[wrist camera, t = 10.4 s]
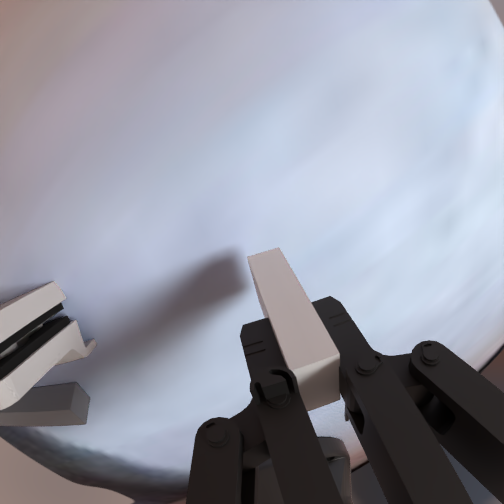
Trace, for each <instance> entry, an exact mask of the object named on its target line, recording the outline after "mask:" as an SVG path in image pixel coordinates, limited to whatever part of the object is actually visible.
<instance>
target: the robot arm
mask: <svg viewBox="0 0 504 504" xmlns="http://www.w3.org/2000/svg"><path fill="white" fill-rule="evenodd" d="M247 259H248V263H249V266H250V270H251V274H252V277H253V281H254V284H255V288H256V292H257V295H258V299H259V303H260V305H261V308H262V311H263V314H264V317H265V318H264V319H261V320H258V321H255V322H251V323H248V324H245V325H243V326H242V330H241V334H240V338H241V342H242V346H243V350H244V354H245V358H246V362H247V366H248V370H249V374H250V378H251V383H250V392H251V395H252V397H253V398H252V400H251V402H250V404H249V405H248V406H247V407H246V408H245V409H244V410H243V411H241V412H240V413H238V414H237V415H235V416H233V417H232V418H230V419H228V418H222V417H217V418H212V419H210V420H208V421H206V422H204V423H203V424H202V425H201V426H200V427H199V429H198V431H197V434H196V437H195V443H194V450H193V457H192V464H191V470H190V477H189V485H188V492H187V499H186V504H353V502H352V498H351V470H350V457H349V454H348V451H347V449H346V447H345V444H344V442H343V441H342V440H340V439H337V438H331V437H321V438H317V435H316V433H315V430H314V428H313V425H312V423H311V420H310V418H309V415H308V413H307V411H310V410H313V409H316V408H319V407H322V406H324V405H327V404H330V403H332V402H335V401H338V400H340V393H341V395H342V397H343V400H344V402H345V421H349V420H350V422H351V424H352V426H353V428H354V430H355V432H356V434H357V437H358V439H359V441H360V443H361V445H362V447H363V449H364V452H365V454H366V456H367V458H368V460H369V462H370V464H371V466H372V469H373V471H374V473H375V475H376V477H377V480H378V482H379V484H380V486H381V488H382V490H383V492H384V495H385V497H386V499H387V501H388V503H389V504H473V503H472V501H471V499H470V497H469V495H468V493H467V491H466V490H465V488H464V486H463V484H462V482H461V480H460V479H459V477H458V475H457V473H456V472H455V470H454V468H453V466H452V465H451V463H450V461H449V459H448V458H447V456H446V454H445V452H444V451H443V449H442V447H441V446H440V444H441V445H442V446H443V447H444V448H445V449H446V450H447V451H448V452H449V453H450V454H451V455H452V456H453V457H454V458H455V459H456V460H457V461H458V462H460V463H461V464H462V465H463V466H464V467H465V468H466V469H467V470H468V471H469V472H470V473H471V474H472V475H473V476H474V477H475V478H476V479H477V480H478V481H479V482H480V483H481V484H482V485H483V486H484V487H486V488H487V489H488V490H489V491H490V492H491V493H492V494H493V495H494V496H495V497H496V498H497V499H498V500H499V501H500V502H501V503H502V504H504V393H503V392H502V391H501V390H499V389H498V388H497V387H496V386H495V385H493V384H492V383H491V382H490V381H488V380H487V379H486V378H485V377H483V376H482V375H481V374H480V373H478V372H477V371H476V370H475V369H473V368H472V367H471V366H470V365H468V364H467V363H466V362H464V361H463V360H462V359H461V358H459V357H458V356H457V355H455V354H454V353H453V352H452V351H450V350H449V349H448V348H446V347H445V346H444V345H442V344H440V343H439V342H437V341H430V340H429V341H423V342H421V343H419V344H417V345H416V346H415V347H414V349H413V350H412V353H409V354H403V355H396V356H387V355H382V354H381V353H379V352H377V351H374V350H373V349H372V348H371V347H370V345H369V344H368V342H367V341H366V339H365V338H364V336H363V335H362V333H361V332H360V330H359V329H358V327H357V326H356V324H355V323H354V321H353V320H352V318H351V317H350V315H349V314H348V313H347V311H346V309H345V308H344V307H343V305H342V304H341V302H339V301H338V300H336V299H334V298H333V297H331V296H329V297H326V298H323V299H320V300H317V301H314V302H310V300H309V298H308V296H307V295H306V293H305V291H304V289H303V288H302V286H301V284H300V282H299V281H298V279H297V277H296V275H295V274H294V272H293V270H292V269H291V267H290V265H289V263H288V262H287V260H286V258H285V257H284V255H283V253H282V251H281V250H280V248H279V247H278V248H275V249H272V250H268V251H265V252H262V253H258V254H255V255H252V256H248V257H247ZM439 443H440V444H439Z"/></svg>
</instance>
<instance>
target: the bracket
mask: <svg viewBox="0 0 504 504" xmlns="http://www.w3.org/2000/svg"><path fill="white" fill-rule="evenodd" d="M89 402H90V397H89V396H88V395H87V394H86V393H85V392H84V391H83V389H82V388H81V387H80V386H79V385H78V384H77V383H76V382H74V383H67V384H60V385H52V386H44V387H35V388H31V389H30V390H29V391H28V392H27V393H26V394H24V395H23V396H22V397H21V398H20V400H18V401H17V402H15V403H14V404H13V405H11V406H9V407H7V408H5V409H2V410H0V426H67V425H84V424H86V422H87V415H88V408H89Z"/></svg>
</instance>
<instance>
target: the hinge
mask: <svg viewBox="0 0 504 504" xmlns="http://www.w3.org/2000/svg"><path fill="white" fill-rule="evenodd" d="M65 299H66V296H65V295H64V293H63V292H62V290H61V288H60V287H59V286H58V285H57V284H56V283H55V282H54V281H52V282H50V283H48V284H46V285H43V286H41V287H39V288H36V289H34V290H32V291H30V292H27V293H25V294H23V295H21V296H19V297H16V298H14V299H12V300H10V301H8V302H5V303H3V304H1V305H0V410H2V409H5V408H7V407H9V406H11V405H13V404H14V403H15V402H17V401H18V400H20V398H21V397H22V396H23V395H24V394H26V393H27V392H28V391H29V390H30V389H31V388H32V387H33V386H34V385H35V384H36V383H37V382H38V381H39V380H40V379H41V378H42V377H43V376H44V375H45V374H46V373H47V372H48V371H49V370H50V369H51V368H52V367H53V366H55V365H59V364H63V363H67V362H71V361H75V360H78V359H82V358H86V357H88V356H89V354H90V353H91V352H92V351H93V349H94V348H95V347H96V346H97V343H96V341H95V340H94V339H91V340H88V341H84V342H83V339H82V336H81V333H80V330H79V327H78V324H77V320H74V321H71V322H70V321H69V318H68V316H65V317H62V318H60V319H57V320H54V321H51V322H49V323H47V324H45V325H44V326H43V324H42V323H43V322H45V321H46V320H48V319H49V318H51V317H52V316H53V315H55V314H56V313H58V312H59V311H61V310H62V309H64V308H63V306H62V303H61V302H62V301H63V300H65Z"/></svg>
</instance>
